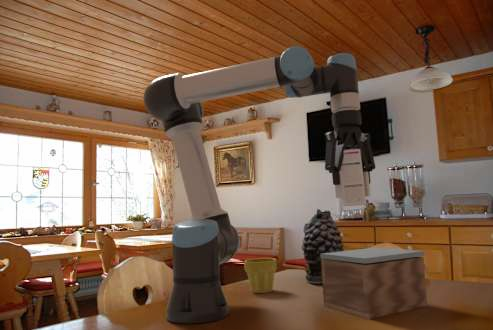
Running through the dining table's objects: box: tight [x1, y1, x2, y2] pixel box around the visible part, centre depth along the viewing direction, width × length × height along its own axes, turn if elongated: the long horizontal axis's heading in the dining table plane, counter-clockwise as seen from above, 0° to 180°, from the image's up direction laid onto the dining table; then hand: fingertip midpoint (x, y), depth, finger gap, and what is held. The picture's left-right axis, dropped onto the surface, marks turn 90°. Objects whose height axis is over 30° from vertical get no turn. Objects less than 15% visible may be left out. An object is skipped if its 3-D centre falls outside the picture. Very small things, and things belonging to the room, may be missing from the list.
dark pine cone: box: [301, 208, 346, 284], centre depth 144 cm, size 21×15×25 cm
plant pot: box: [243, 257, 278, 294], centre depth 129 cm, size 10×10×10 cm
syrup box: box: [338, 148, 367, 207], centre depth 106 cm, size 6×6×14 cm
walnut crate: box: [321, 256, 428, 320], centre depth 104 cm, size 20×16×12 cm
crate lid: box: [320, 247, 425, 264], centre depth 105 cm, size 20×16×1 cm
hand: (353, 197), depth 106 cm, fingers closed on syrup box, 8 cm apart
